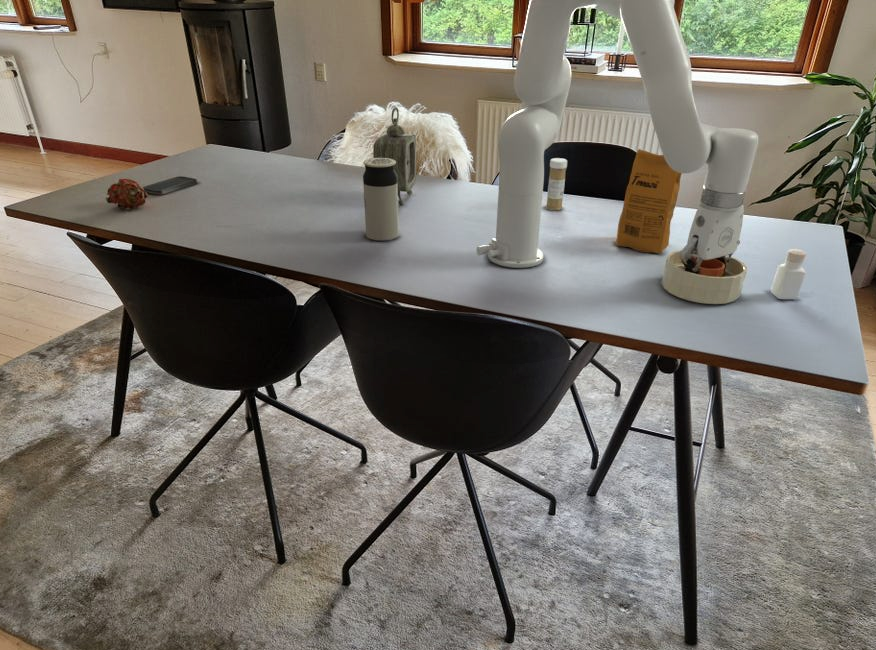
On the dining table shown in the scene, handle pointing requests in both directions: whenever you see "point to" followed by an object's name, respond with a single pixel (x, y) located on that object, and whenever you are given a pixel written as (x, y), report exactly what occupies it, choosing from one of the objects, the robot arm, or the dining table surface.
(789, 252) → the pepper shaker
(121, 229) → the dining table surface
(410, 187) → the weathered lantern
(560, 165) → the sprinkles bottle
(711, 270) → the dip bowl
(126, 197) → the brown knobby oval lump
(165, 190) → the phone
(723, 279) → the serving bowl
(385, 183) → the travel mug
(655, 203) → the coffee package
